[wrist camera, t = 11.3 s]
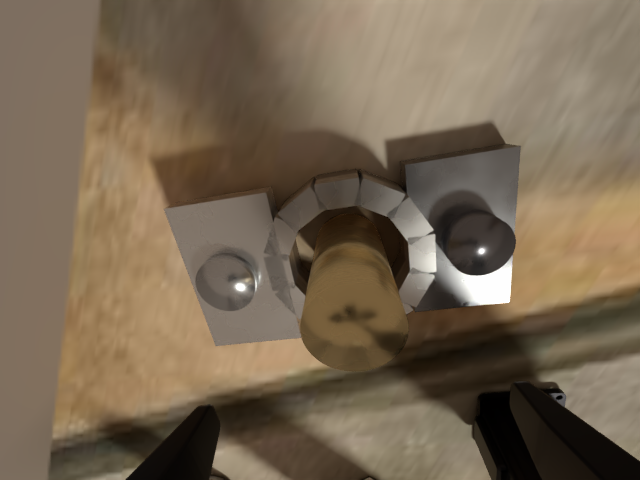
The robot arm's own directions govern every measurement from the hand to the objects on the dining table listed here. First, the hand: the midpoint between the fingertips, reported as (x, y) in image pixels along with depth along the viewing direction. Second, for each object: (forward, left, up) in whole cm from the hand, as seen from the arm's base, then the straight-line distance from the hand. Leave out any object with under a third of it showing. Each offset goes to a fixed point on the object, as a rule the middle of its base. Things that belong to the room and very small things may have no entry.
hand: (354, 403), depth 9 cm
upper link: (+2, 0, -12) cm, 13 cm away
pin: (0, 0, -12) cm, 12 cm away
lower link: (-3, 0, -12) cm, 13 cm away
